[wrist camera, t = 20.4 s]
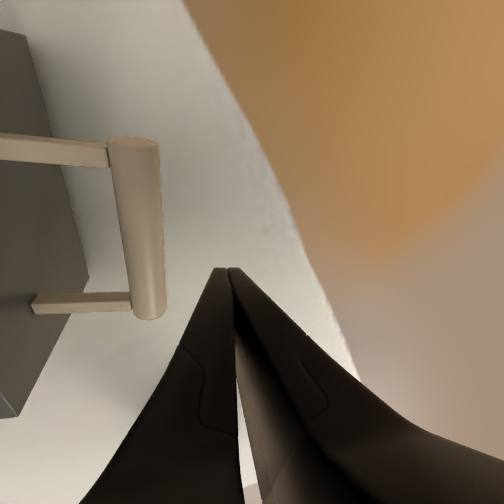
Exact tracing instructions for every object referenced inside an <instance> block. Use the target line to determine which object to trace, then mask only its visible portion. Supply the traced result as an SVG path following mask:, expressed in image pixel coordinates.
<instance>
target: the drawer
mask: <svg viewBox="0 0 504 504" xmlns="http://www.w3.org/2000/svg"><path fill="white" fill-rule="evenodd" d="M60 165H71V166H83V167H94V168H106V169H107V168H109V167H110V166H111V173H112V179H113V186H114V192H115V199H116V205H117V211H118V218H119V224H120V231H121V237H122V244H123V250H124V257H125V263H126V269H127V276H128V282H129V289H130V292H96V293H82V291H83V289H84V287H85V285H86V283H87V281H88V279H89V275H88V271H87V267H86V263H85V260H84V256H83V252H82V248H81V244H80V241H79V237H78V233H77V229H76V225H75V222H74V218H73V214H72V210H71V206H70V202H69V199H68V195H67V191H66V187H65V183H64V180H63V176H62V172H61V168H60ZM132 308H133V313H134V315H135V316H136V317H137V318H139V319H142V320H153V319H156V318H158V317H160V316H161V315H163V314H164V312H165V311H166V308H167V298H166V279H165V259H164V239H163V220H162V200H161V180H160V161H159V146H158V143H156V142H154V141H152V140H149V139H145V138H139V137H114V138H110V139H108V140H107V144H105V143H96V142H87V141H77V140H68V139H58V138H52V134H51V130H50V126H49V122H48V119H47V115H46V111H45V107H44V103H43V100H42V96H41V92H40V88H39V84H38V80H37V77H36V73H35V69H34V65H33V61H32V58H31V54H30V50H29V46H28V42H27V39H26V36H24V35H22V34H18V33H14V32H10V31H6V30H2V29H0V419H4V418H13V417H18V416H19V414H20V413H21V411H22V409H23V407H24V405H25V403H26V401H27V399H28V397H29V395H30V393H31V391H32V389H33V387H34V385H35V383H36V381H37V379H38V377H39V375H40V373H41V371H42V369H43V367H44V366H45V364H46V362H47V360H48V358H49V356H50V354H51V352H52V350H53V348H54V346H55V344H56V342H57V340H58V338H59V336H60V334H61V332H62V330H63V328H64V326H65V324H66V322H67V320H68V319H69V317H70V315H71V313H86V312H112V311H131V310H132Z"/></svg>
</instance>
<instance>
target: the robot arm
mask: <svg viewBox="0 0 504 504" xmlns="http://www.w3.org/2000/svg"><path fill="white" fill-rule="evenodd" d="M236 378H237V383H238V388H239V393H240V398H241V403H242V407H243V412H244V417H245V422H246V427H247V432H248V436H249V441H250V446H251V451H252V456H253V461H254V465H255V470H256V475H257V480H258V485H259V490H260V494H261V499H262V500H263V501H262V504H504V461H503V460H501V459H498V458H495V457H492V456H490V455H487V454H485V453H482V452H479V451H477V450H474V449H471V448H469V447H466V446H463V445H461V444H458V443H456V442H453V441H450V440H447V439H445V438H443V437H440V436H437V435H435V434H432V433H430V432H428V431H426V430H424V429H422V428H420V427H418V426H416V425H415V424H413V423H411V422H410V421H408V420H407V419H405V418H404V417H402V416H401V415H399V414H398V413H397V412H396V411H394V410H393V409H392V408H391V407H390V406H388V405H387V404H386V403H384V401H382V400H381V399H380V398H379V397H377V396H376V395H375V394H373V392H371V391H370V390H369V389H368V388H366V387H365V386H364V385H363V384H362V383H361V382H359V381H358V380H357V379H356V378H354V377H353V376H352V375H351V374H350V373H348V372H347V371H346V370H345V369H344V368H343V367H342V366H340V365H339V364H338V363H337V362H336V361H335V360H333V359H332V358H331V357H330V356H329V355H328V354H327V353H326V352H325V351H324V350H323V349H322V348H320V347H319V346H318V345H317V344H316V343H315V342H314V341H313V340H312V339H311V338H310V337H309V336H308V335H307V336H306V333H305V332H304V331H303V330H302V329H301V328H300V327H299V326H298V325H297V324H296V323H295V322H294V321H293V320H292V319H291V318H290V317H289V316H288V315H287V314H286V313H285V312H284V311H283V310H282V309H281V308H280V307H279V306H278V305H277V304H276V303H275V302H274V301H273V300H272V299H271V298H270V297H269V296H267V295H266V294H265V293H264V292H263V291H262V290H261V289H260V288H259V287H258V286H257V285H256V284H255V283H254V282H253V281H252V280H251V279H250V278H249V277H248V276H247V275H246V274H245V273H244V272H243V271H242V270H241V269H240V268H227V269H226V268H214V269H213V271H212V273H211V275H210V277H209V279H208V282H207V284H206V286H205V288H204V290H203V292H202V295H201V297H200V299H199V301H198V303H197V305H196V308H195V310H194V312H193V314H192V316H191V318H190V321H189V323H188V325H187V327H186V329H185V331H184V334H183V336H182V338H181V340H180V342H179V345H178V346H177V348H176V350H175V353H174V355H173V357H172V359H171V361H170V363H169V365H168V367H167V369H166V371H165V373H164V375H163V377H162V378H161V380H160V382H159V383H158V385H157V387H156V388H155V390H154V392H153V394H152V395H151V397H150V399H149V400H148V402H147V403H146V405H145V407H144V408H143V410H142V411H141V413H140V414H139V416H138V418H137V419H136V421H135V422H134V424H133V426H132V427H131V429H130V430H129V432H128V434H127V435H126V437H125V438H124V440H123V441H122V443H121V445H120V446H119V448H118V449H117V451H116V453H115V454H114V456H113V457H112V459H111V460H110V462H109V463H108V465H107V466H106V468H105V469H104V471H103V472H102V474H101V475H100V477H99V478H98V479H97V481H96V482H95V484H94V485H93V486H92V488H91V489H90V490H89V492H88V493H87V494H86V495H85V497H84V498H83V499H82V500H81V501H80V503H79V504H245V501H244V494H243V488H242V481H241V474H240V462H239V445H238V416H237V387H236Z"/></svg>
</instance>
